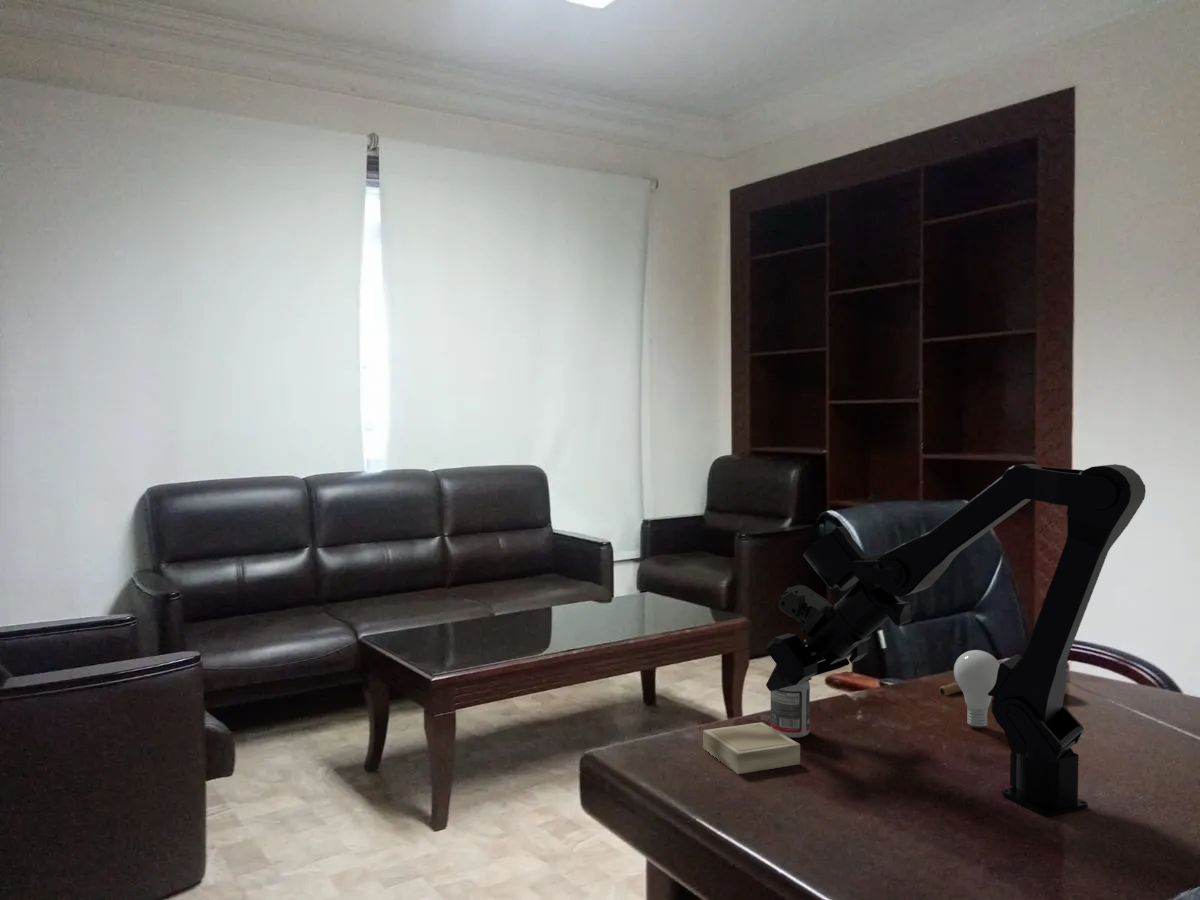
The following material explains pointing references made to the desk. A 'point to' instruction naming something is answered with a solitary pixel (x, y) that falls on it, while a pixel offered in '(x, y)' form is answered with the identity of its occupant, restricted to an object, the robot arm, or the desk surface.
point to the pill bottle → (791, 710)
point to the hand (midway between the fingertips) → (781, 683)
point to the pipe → (950, 689)
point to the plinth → (751, 747)
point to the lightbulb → (976, 683)
